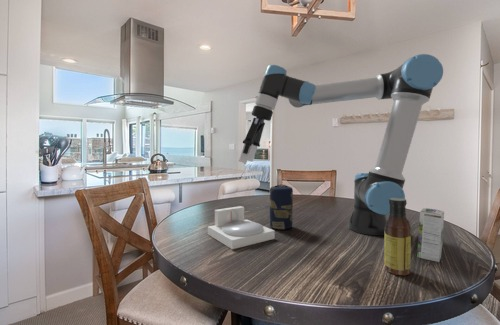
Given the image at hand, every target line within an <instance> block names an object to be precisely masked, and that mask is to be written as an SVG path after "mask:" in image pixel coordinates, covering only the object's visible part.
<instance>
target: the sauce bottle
mask: <svg viewBox="0 0 500 325" xmlns="http://www.w3.org/2000/svg"><path fill="white" fill-rule="evenodd" d="M407 203H408V202H407V199H406V198H405V199H403V198H390V199H389V204H390V212H389V215H388V217H387V222H386V225H385V232H384V233H385V235H384V249H383V250H384V256H383V258H384V259H383V260H384V262H383V264H384V265H385V266H384V268H385V270H386V271H387V272H389V274H390V273H391V274H392V275H395V276H408V275H410V273H411V268H412V267H411V266H412V264H411V263H412V261H411V260H412V258H411V257H412V253H411V252H412V249H411V247H412V234H411V224H410V221H409V220H408V219H407V217H406V216H407V214H406V213H407V212H406V205H407Z"/></svg>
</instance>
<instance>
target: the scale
mask: <svg viewBox="0 0 500 325" xmlns="http://www.w3.org/2000/svg"><path fill="white" fill-rule="evenodd" d="M275 232H276V231H275V229H272V228H270V227H267V226H264V225H262V224H261V223H258V222H254V221H252V220H249V219H245V207H244V206H241V205H238V206H233V207H225V208H220V209H219V208H218V209H214V225H209V226H207V235H208V236H210V237H211V238H213V239H215V240H216V241H218V242H219V243H221V244H223V245H225V247H228V248H229V249H231V250H235V249H239V248H243V247H247V246H251V245H256V244H259V243H262V242H267V241H270V240H275V239H276V238H275V234H276V233H275Z"/></svg>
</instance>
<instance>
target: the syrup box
mask: <svg viewBox="0 0 500 325" xmlns="http://www.w3.org/2000/svg"><path fill="white" fill-rule="evenodd" d="M444 219H445V211H444V210H440V209H439V210H438V209H436V208H427V207H426V208H422V209H421V211H419V222H418V223H419V224H418V235H417V237H418V238H417V252H416V253H417V254H416V257H417V258H419V259H422V260H427V261H432V262H436V263H441V262H440V261H441V258H442V250H443V249H442V248H443V237H444V236H443V235H444V221H445V220H444Z"/></svg>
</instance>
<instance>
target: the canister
mask: <svg viewBox="0 0 500 325" xmlns="http://www.w3.org/2000/svg"><path fill="white" fill-rule="evenodd" d="M293 192H294V191H293V188H292V187H291V186H288V185H286V184H277V185H273V186H271V187H270V188H269V226H270V227H271V229H272V228H273V229H274V230H275V229H276V230H288V229H291V228H292V227H293V218H294V217H293V214H294V212H293V210H294V209H293V208H294V205H293V204H294V203H293V202H294V200H293V199H294V197H293V196H294V193H293Z"/></svg>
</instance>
